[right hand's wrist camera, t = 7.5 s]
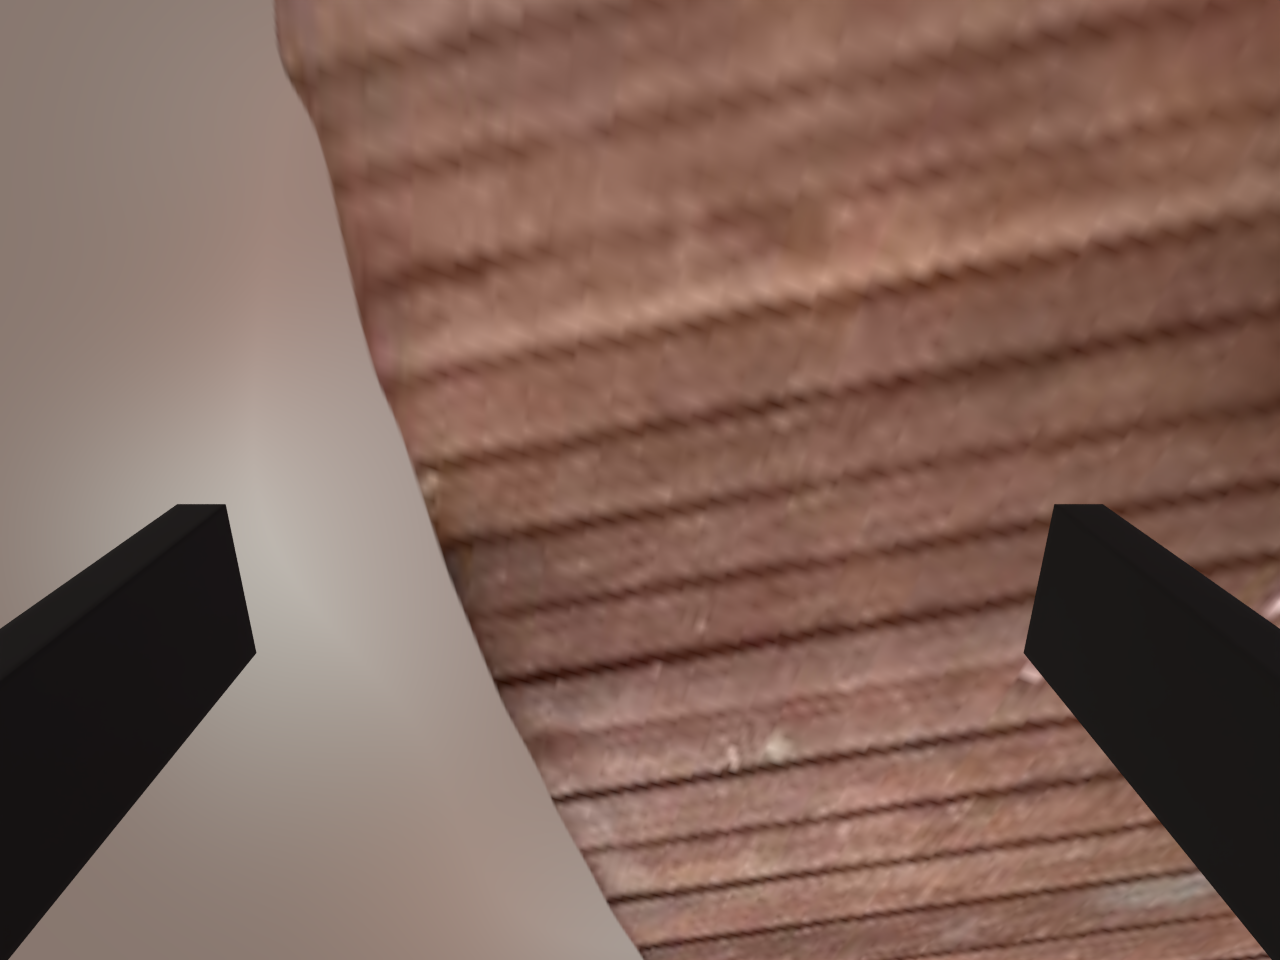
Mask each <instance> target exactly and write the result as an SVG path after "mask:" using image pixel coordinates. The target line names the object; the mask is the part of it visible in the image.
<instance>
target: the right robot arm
mask: <svg viewBox="0 0 1280 960" xmlns="http://www.w3.org/2000/svg"><path fill="white" fill-rule="evenodd" d="M255 654H256V649H255V644H254V639H253V634H252V630H251V625H250V620H249V615H248V610H247V606H246V601H245V596H244V591H243V586H242V581H241V576H240V572H239V567H238V562H237V557H236V553H235V547H234V543H233V538H232V533H231V528H230V523H229V518H228V514H227V509H226V505H225V504H177V505H176V506H174V507H173V508H171V509H170V510H169V511H167V512H166V513H164V514H163V515H161V516H160V517H159V518H157V519H156V520H154V521H153V522H151V523H150V524H149V525H147V526H146V527H144V528H143V529H141V530H140V531H139V532H137V533H136V534H134V535H133V536H131V537H130V538H129V539H127V540H126V541H124V542H123V543H122V544H120V545H119V546H117V547H116V548H115V549H113V550H112V551H110V552H109V553H107V554H106V555H105V556H103V557H102V558H100V559H99V560H97V561H96V562H95V563H93V564H92V565H90V566H89V567H87V568H86V569H85V570H83V571H82V572H80V573H79V574H77V575H76V576H75V577H73V578H72V579H70V580H69V581H68V582H66V583H65V584H63V585H62V586H60V587H59V588H58V589H56V590H55V591H53V592H52V593H50V594H49V595H48V596H46V597H45V598H43V599H42V600H41V601H39V602H38V603H36V604H35V605H33V606H32V607H31V608H29V609H28V610H26V611H25V612H23V613H22V614H21V615H19V616H18V617H16V618H15V619H13V620H12V621H11V622H9V623H8V624H6V625H5V626H4V627H2V628H1V629H0V960H8V959H9V958H10V957H11V955H12V954H13V953H14V952H15V951H16V949H17V948H18V947H19V946H20V944H21V943H22V942H23V941H24V939H25V938H26V937H27V936H28V934H29V933H30V932H31V931H32V929H33V928H34V927H35V926H36V925H37V923H38V922H39V921H40V920H41V918H42V917H43V916H44V915H45V913H46V912H47V911H48V910H49V908H50V907H51V906H52V905H53V904H54V902H55V901H56V900H57V899H58V897H59V896H60V895H61V894H62V892H63V891H64V890H65V889H66V887H67V886H68V885H69V884H70V883H71V881H72V880H73V879H74V878H75V876H76V875H77V874H78V873H79V871H80V870H81V869H82V868H83V866H84V865H85V864H86V863H87V862H88V860H89V859H90V858H91V857H92V855H93V854H94V853H95V852H96V850H97V849H98V848H99V847H100V845H101V844H102V843H103V842H104V841H105V839H106V838H107V837H108V836H109V834H110V833H111V832H112V831H113V829H114V828H115V827H116V826H117V824H118V823H119V822H120V821H121V820H122V818H123V817H124V816H125V815H126V813H127V812H128V811H129V810H130V808H131V807H132V806H133V805H134V803H135V802H136V801H137V800H138V798H139V797H140V796H141V795H142V794H143V792H144V791H145V790H146V789H147V787H148V786H149V785H150V784H151V782H152V781H153V780H154V779H155V778H156V776H157V775H158V774H159V773H160V771H161V770H162V769H163V768H164V766H165V765H166V764H167V763H168V761H169V760H170V759H171V758H172V757H173V755H174V754H175V753H176V752H177V750H178V749H179V748H180V747H181V745H182V744H183V743H184V742H185V740H186V739H187V738H188V737H189V736H190V734H191V733H192V732H193V731H194V729H195V728H196V727H197V726H198V724H199V723H200V722H201V721H202V719H203V718H204V717H205V716H206V715H207V713H208V712H209V711H210V710H211V708H212V707H213V706H214V705H215V703H216V702H217V701H218V700H219V698H220V697H221V696H222V695H223V693H224V692H225V691H226V690H227V689H228V687H229V686H230V685H231V684H232V682H233V681H234V680H235V679H236V677H237V676H238V675H239V674H240V672H241V671H242V670H243V669H244V668H245V666H246V665H247V664H248V663H249V661H250V660H251V659H252V658H253V656H254V655H255ZM1024 654H1025V655H1026V656H1027V658H1028V659H1029V660H1030V661H1031V663H1032V664H1033V665H1034V666H1035V668H1036V669H1037V670H1038V671H1039V672H1040V674H1041V675H1042V676H1043V677H1044V679H1045V680H1046V681H1047V682H1048V684H1049V685H1050V686H1051V687H1052V689H1053V690H1054V691H1055V692H1056V693H1057V695H1058V696H1059V697H1060V698H1061V700H1062V701H1063V702H1064V703H1065V705H1066V706H1067V707H1068V708H1069V710H1070V711H1071V712H1072V713H1073V715H1074V716H1075V717H1076V718H1077V719H1078V721H1079V722H1080V723H1081V724H1082V726H1083V727H1084V728H1085V729H1086V731H1087V732H1088V733H1089V734H1090V736H1091V737H1092V738H1093V739H1094V740H1095V742H1096V743H1097V744H1098V745H1099V747H1100V748H1101V749H1102V750H1103V752H1104V753H1105V754H1106V755H1107V757H1108V758H1109V759H1110V760H1111V761H1112V763H1113V764H1114V765H1115V766H1116V768H1117V769H1118V770H1119V771H1120V773H1121V774H1122V775H1123V776H1124V778H1125V779H1126V780H1127V781H1128V782H1129V784H1130V785H1131V786H1132V787H1133V789H1134V790H1135V791H1136V792H1137V794H1138V795H1139V796H1140V797H1141V799H1142V800H1143V801H1144V802H1145V803H1146V805H1147V806H1148V807H1149V808H1150V810H1151V811H1152V812H1153V813H1154V815H1155V816H1156V817H1157V818H1158V820H1159V821H1160V822H1161V823H1162V824H1163V826H1164V827H1165V828H1166V829H1167V831H1168V832H1169V833H1170V834H1171V836H1172V837H1173V838H1174V839H1175V841H1176V842H1177V843H1178V844H1179V845H1180V847H1181V848H1182V849H1183V850H1184V852H1185V853H1186V854H1187V855H1188V857H1189V858H1190V859H1191V860H1192V862H1193V863H1194V864H1195V865H1196V866H1197V868H1198V869H1199V870H1200V871H1201V873H1202V874H1203V875H1204V876H1205V878H1206V879H1207V880H1208V881H1209V883H1210V884H1211V885H1212V886H1213V887H1214V889H1215V890H1216V891H1217V892H1218V894H1219V895H1220V896H1221V897H1222V899H1223V900H1224V901H1225V902H1226V904H1227V905H1228V906H1229V907H1230V908H1231V910H1232V911H1233V912H1234V913H1235V915H1236V916H1237V917H1238V918H1239V920H1240V921H1241V922H1242V923H1243V925H1244V926H1245V927H1246V928H1247V929H1248V931H1249V932H1250V933H1251V934H1252V936H1253V937H1254V938H1255V939H1256V941H1257V942H1258V943H1259V944H1260V946H1261V947H1262V948H1263V949H1264V951H1265V952H1266V953H1267V954H1268V955H1269V957H1270V958H1271V959H1272V960H1280V629H1279V628H1278V627H1276V626H1275V625H1274V624H1272V623H1271V622H1269V621H1268V620H1267V619H1265V618H1264V617H1262V616H1261V615H1259V614H1258V613H1257V612H1255V611H1254V610H1252V609H1251V608H1249V607H1248V606H1247V605H1245V604H1244V603H1242V602H1241V601H1239V600H1238V599H1237V598H1235V597H1234V596H1232V595H1231V594H1230V593H1228V592H1227V591H1225V590H1224V589H1222V588H1221V587H1220V586H1218V585H1217V584H1215V583H1214V582H1212V581H1211V580H1210V579H1208V578H1207V577H1205V576H1204V575H1203V574H1201V573H1200V572H1198V571H1197V570H1195V569H1194V568H1193V567H1191V566H1190V565H1188V564H1187V563H1185V562H1184V561H1183V560H1181V559H1180V558H1178V557H1177V556H1176V555H1174V554H1173V553H1171V552H1170V551H1168V550H1167V549H1166V548H1164V547H1163V546H1161V545H1160V544H1158V543H1157V542H1156V541H1154V540H1153V539H1151V538H1150V537H1148V536H1147V535H1146V534H1144V533H1143V532H1141V531H1140V530H1139V529H1137V528H1136V527H1134V526H1133V525H1131V524H1130V523H1129V522H1127V521H1126V520H1124V519H1123V518H1121V517H1120V516H1119V515H1117V514H1116V513H1114V512H1113V511H1112V510H1110V509H1109V508H1107V507H1106V506H1104V505H1103V504H1054V509H1053V513H1052V518H1051V523H1050V528H1049V533H1048V538H1047V543H1046V547H1045V552H1044V557H1043V562H1042V567H1041V572H1040V576H1039V581H1038V586H1037V591H1036V596H1035V601H1034V605H1033V610H1032V615H1031V620H1030V625H1029V630H1028V634H1027V639H1026V644H1025V649H1024Z"/></svg>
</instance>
